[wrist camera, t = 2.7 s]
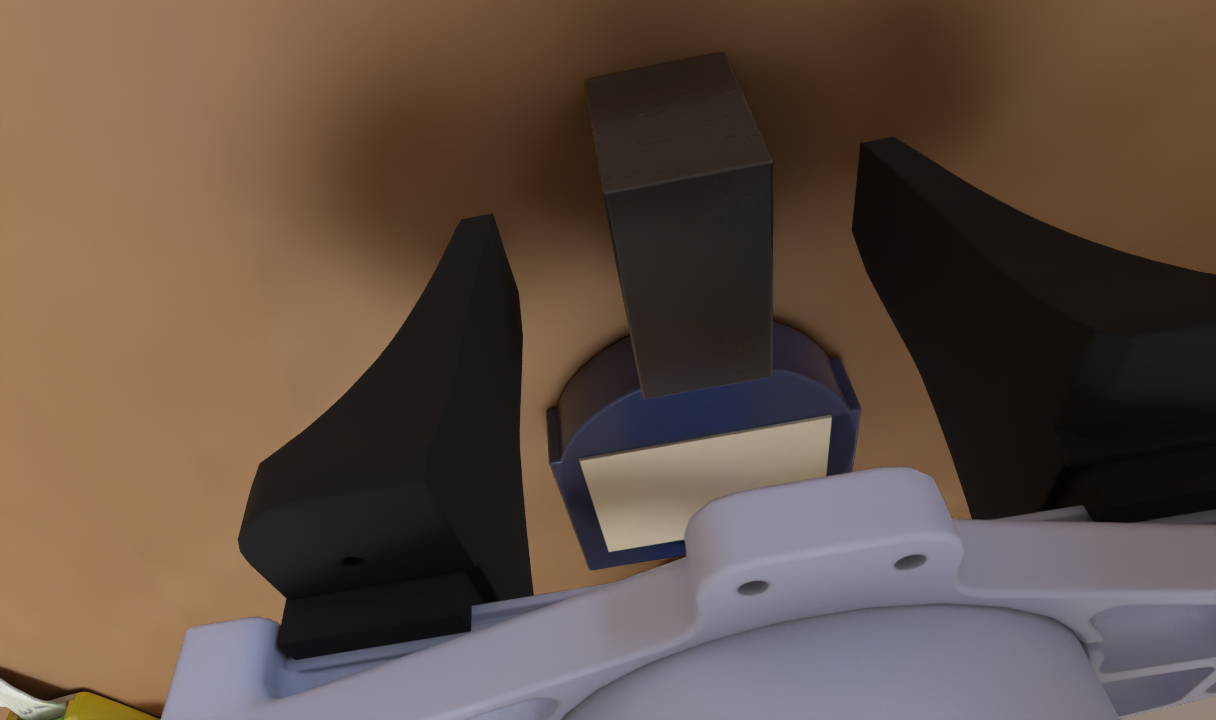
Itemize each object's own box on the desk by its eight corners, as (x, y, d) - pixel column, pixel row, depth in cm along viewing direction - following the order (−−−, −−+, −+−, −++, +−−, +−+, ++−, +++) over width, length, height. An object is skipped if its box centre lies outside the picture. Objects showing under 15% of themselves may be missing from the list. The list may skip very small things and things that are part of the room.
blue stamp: (439, 106, 14) (427, 226, 12) (875, 20, 14) (957, 125, 11) (584, 521, 25) (594, 627, 23) (828, 480, 25) (864, 583, 22)
